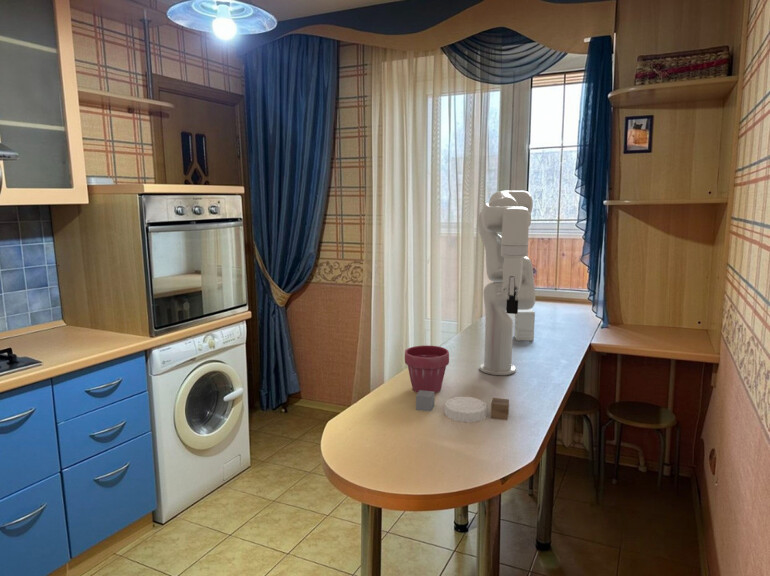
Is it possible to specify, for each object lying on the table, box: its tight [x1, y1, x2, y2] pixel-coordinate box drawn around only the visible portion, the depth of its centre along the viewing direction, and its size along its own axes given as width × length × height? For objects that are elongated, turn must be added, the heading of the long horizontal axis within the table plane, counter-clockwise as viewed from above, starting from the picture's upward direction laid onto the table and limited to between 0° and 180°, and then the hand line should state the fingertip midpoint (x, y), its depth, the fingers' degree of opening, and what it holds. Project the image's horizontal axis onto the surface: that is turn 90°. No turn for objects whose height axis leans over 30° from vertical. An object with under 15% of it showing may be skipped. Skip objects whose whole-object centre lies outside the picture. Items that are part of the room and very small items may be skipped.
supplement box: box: [513, 308, 536, 342], centre depth 235 cm, size 7×7×13 cm
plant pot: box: [404, 344, 450, 394], centre depth 174 cm, size 14×14×13 cm
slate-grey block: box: [415, 390, 435, 412], centre depth 160 cm, size 4×4×4 cm
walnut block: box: [490, 397, 510, 421], centre depth 153 cm, size 4×4×4 cm
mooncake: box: [443, 396, 488, 423], centre depth 155 cm, size 12×12×4 cm
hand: (512, 312), depth 161 cm, fingers closed
